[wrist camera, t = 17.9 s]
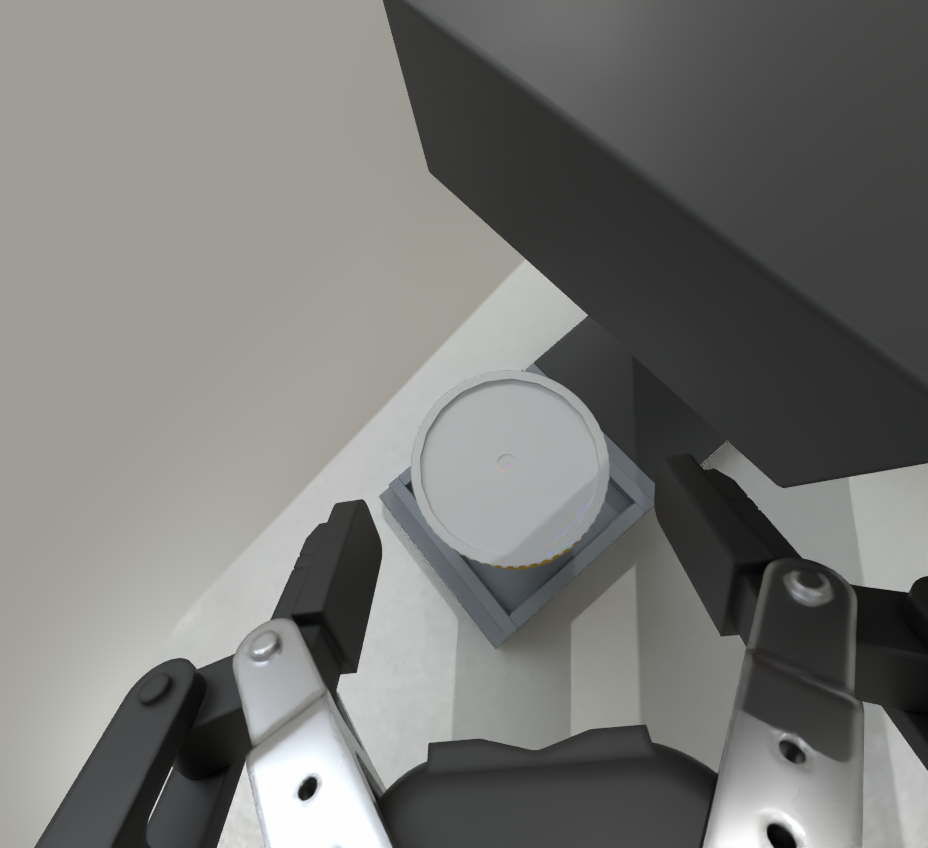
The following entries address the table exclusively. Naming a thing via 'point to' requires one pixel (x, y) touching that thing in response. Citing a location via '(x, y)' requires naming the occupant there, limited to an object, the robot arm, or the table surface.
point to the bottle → (510, 469)
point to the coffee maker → (692, 232)
